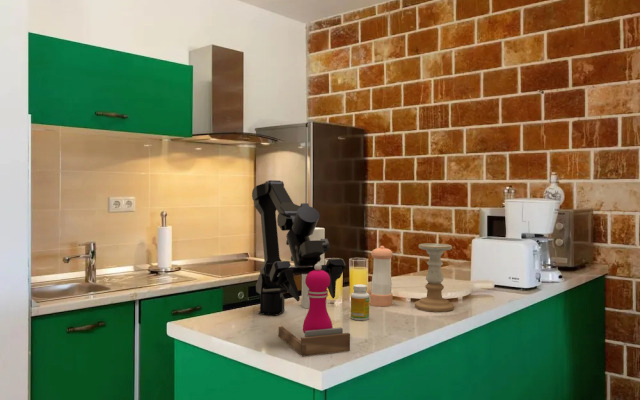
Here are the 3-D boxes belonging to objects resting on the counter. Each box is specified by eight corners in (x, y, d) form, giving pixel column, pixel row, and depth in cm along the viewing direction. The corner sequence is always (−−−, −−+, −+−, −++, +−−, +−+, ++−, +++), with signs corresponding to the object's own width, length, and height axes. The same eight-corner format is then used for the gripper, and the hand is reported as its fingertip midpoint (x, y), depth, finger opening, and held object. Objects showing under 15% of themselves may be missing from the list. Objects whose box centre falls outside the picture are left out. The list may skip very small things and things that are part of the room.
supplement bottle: (367, 321, 157) (368, 287, 156) (349, 320, 158) (349, 286, 157) (370, 316, 162) (370, 284, 162) (352, 315, 163) (352, 283, 163)
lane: (278, 336, 140) (278, 320, 140) (321, 331, 145) (321, 316, 145) (302, 356, 124) (302, 338, 124) (349, 350, 129) (350, 333, 128)
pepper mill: (301, 342, 135) (302, 261, 135) (330, 341, 136) (331, 261, 135) (303, 351, 128) (303, 265, 127) (334, 350, 129) (334, 265, 128)
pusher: (304, 352, 127) (304, 330, 126) (340, 348, 130) (340, 327, 130) (306, 353, 126) (306, 332, 125) (342, 349, 129) (342, 328, 129)
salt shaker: (366, 304, 178) (367, 246, 178) (376, 300, 184) (376, 244, 184) (386, 307, 174) (387, 247, 174) (396, 303, 181) (396, 245, 180)
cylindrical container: (307, 309, 170) (308, 229, 170) (297, 305, 177) (298, 227, 176) (327, 307, 174) (328, 228, 173) (317, 303, 180) (318, 227, 179)
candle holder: (451, 313, 167) (452, 248, 166) (411, 310, 171) (412, 246, 171) (456, 305, 178) (457, 244, 178) (418, 302, 183) (419, 242, 182)
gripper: (273, 228, 133) (287, 281, 123) (343, 227, 140) (362, 277, 130) (263, 256, 140) (276, 308, 130) (330, 253, 147) (347, 303, 138)
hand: (316, 298), depth 132 cm, fingers open, 9 cm apart
